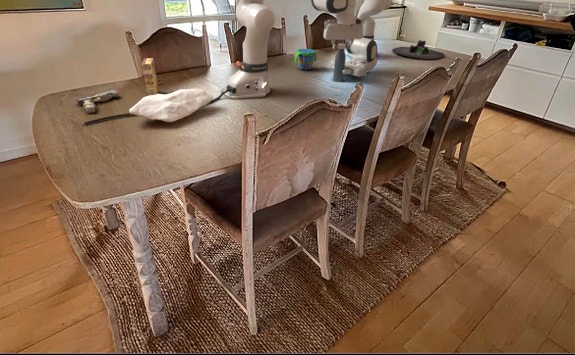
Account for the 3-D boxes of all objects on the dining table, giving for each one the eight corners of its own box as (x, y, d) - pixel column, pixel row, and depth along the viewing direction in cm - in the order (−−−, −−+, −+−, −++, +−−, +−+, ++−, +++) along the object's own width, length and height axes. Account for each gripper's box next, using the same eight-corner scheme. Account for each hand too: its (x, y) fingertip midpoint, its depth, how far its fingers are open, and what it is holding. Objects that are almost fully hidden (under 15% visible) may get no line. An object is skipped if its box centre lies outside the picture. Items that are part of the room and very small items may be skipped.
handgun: (128, 97, 156) (111, 87, 164) (86, 107, 144) (70, 97, 152) (129, 103, 157) (113, 94, 165) (88, 114, 146) (72, 103, 154)
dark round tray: (454, 55, 249) (457, 41, 244) (422, 61, 231) (424, 46, 227) (413, 47, 273) (415, 35, 269) (381, 52, 256) (382, 39, 252)
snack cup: (310, 64, 218) (311, 47, 212) (321, 69, 211) (322, 51, 205) (288, 68, 210) (289, 50, 205) (299, 73, 203) (300, 54, 198)
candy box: (157, 97, 164) (152, 63, 155) (147, 98, 163) (141, 63, 155) (158, 91, 171) (153, 57, 163) (149, 91, 170) (143, 58, 162)
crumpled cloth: (117, 110, 146) (113, 90, 140) (195, 92, 166) (194, 73, 160) (143, 139, 134) (140, 118, 128) (223, 116, 154) (224, 96, 148)
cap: (347, 48, 186) (347, 44, 185) (341, 49, 184) (342, 45, 183) (341, 46, 189) (341, 43, 188) (336, 47, 187) (336, 44, 186)
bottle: (340, 78, 198) (344, 44, 189) (344, 81, 194) (348, 47, 184) (331, 78, 197) (334, 44, 188) (335, 81, 193) (338, 47, 183)
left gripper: (327, 20, 174) (324, 50, 182) (366, 20, 179) (362, 49, 186) (322, 18, 179) (320, 47, 187) (361, 18, 184) (357, 46, 191)
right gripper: (341, 56, 205) (324, 60, 197) (370, 64, 192) (353, 69, 184) (339, 67, 208) (323, 71, 200) (368, 76, 196) (352, 81, 188)
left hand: (341, 48), depth 187 cm, fingers open, 6 cm apart
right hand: (338, 70), depth 192 cm, fingers closed on bottle, 5 cm apart
